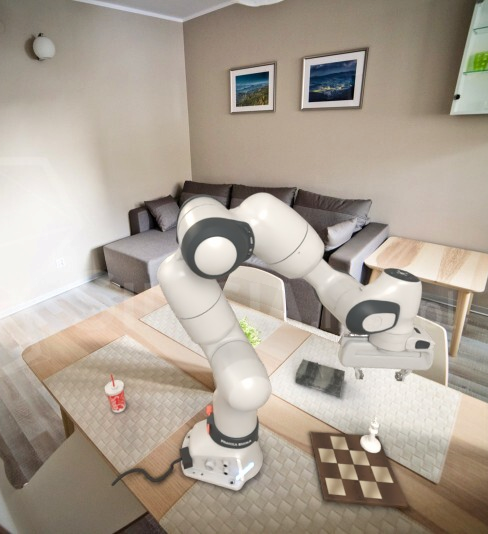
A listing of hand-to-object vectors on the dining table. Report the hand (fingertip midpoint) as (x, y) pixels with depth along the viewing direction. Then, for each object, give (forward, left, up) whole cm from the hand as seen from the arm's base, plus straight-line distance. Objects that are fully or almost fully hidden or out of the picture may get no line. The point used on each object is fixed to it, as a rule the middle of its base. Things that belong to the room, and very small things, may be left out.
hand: (378, 378), depth 82 cm
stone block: (-8, +21, -22) cm, 32 cm away
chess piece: (0, -3, -21) cm, 21 cm away
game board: (-6, -9, -22) cm, 25 cm away
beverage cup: (-75, +6, -22) cm, 78 cm away
